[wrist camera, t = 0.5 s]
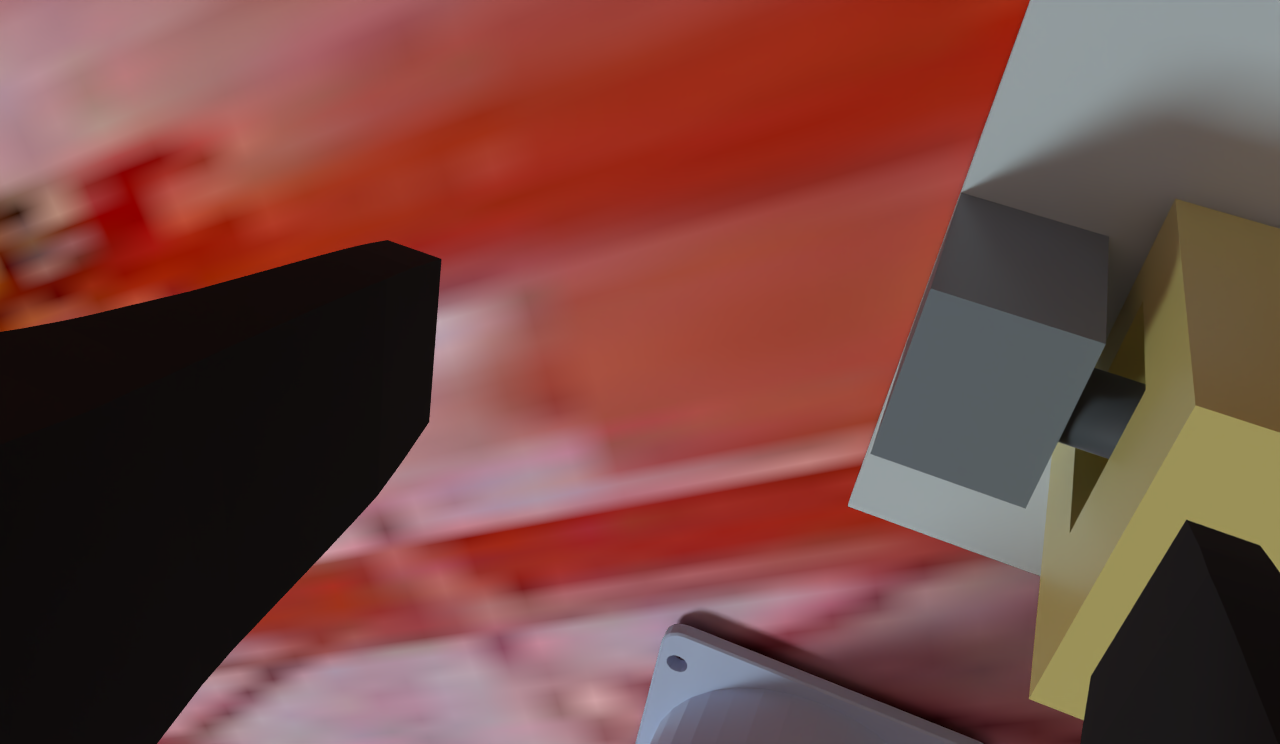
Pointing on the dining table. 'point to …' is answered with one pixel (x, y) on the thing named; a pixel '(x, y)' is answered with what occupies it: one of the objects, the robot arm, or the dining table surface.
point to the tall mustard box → (1167, 440)
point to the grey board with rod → (1066, 253)
